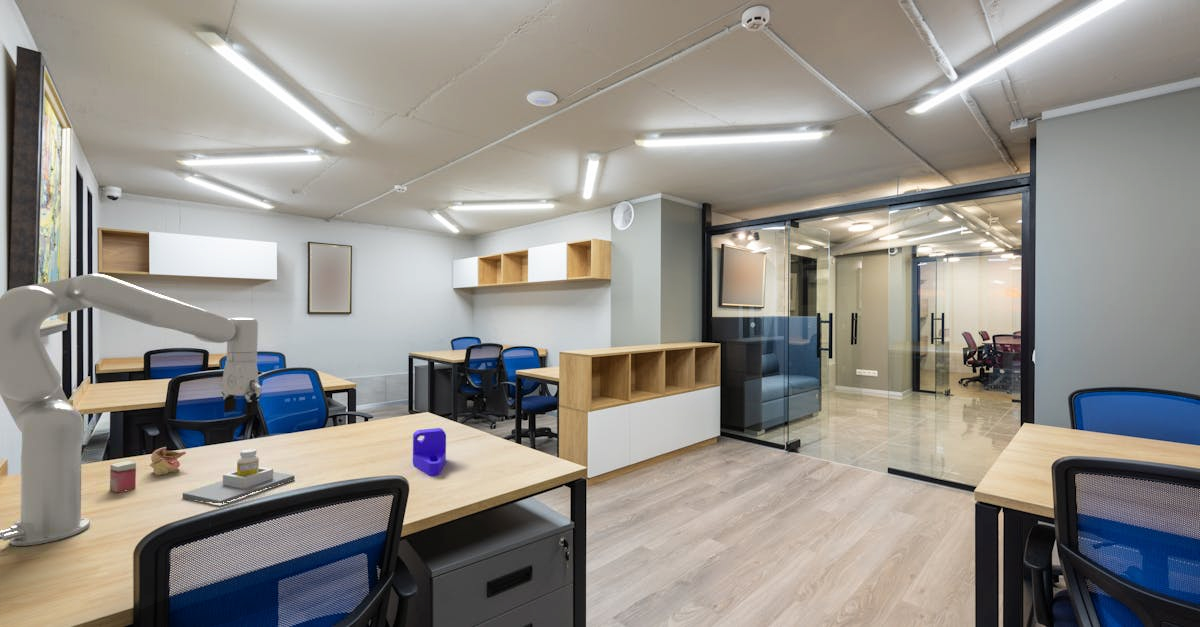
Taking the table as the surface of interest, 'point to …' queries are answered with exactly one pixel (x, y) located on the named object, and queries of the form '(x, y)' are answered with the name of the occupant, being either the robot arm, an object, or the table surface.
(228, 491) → the socket holder
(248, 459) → the supplement bottle
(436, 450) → the bracket
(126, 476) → the small box
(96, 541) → the table surface
